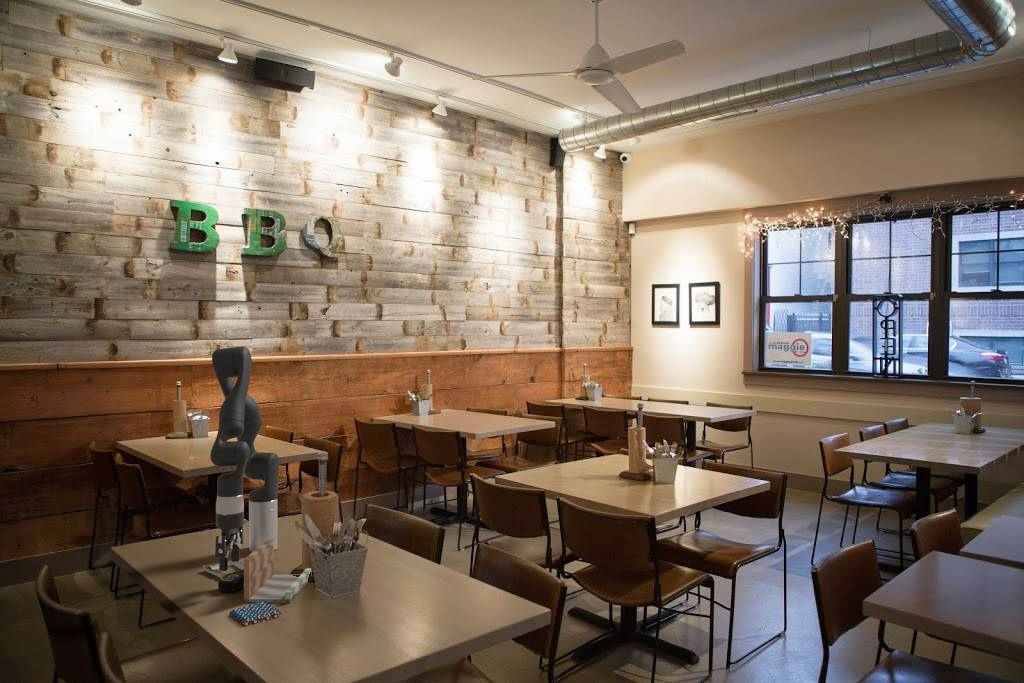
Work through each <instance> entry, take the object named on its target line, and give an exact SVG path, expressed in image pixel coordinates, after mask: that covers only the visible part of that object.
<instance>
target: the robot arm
mask: <svg viewBox="0 0 1024 683" xmlns="http://www.w3.org/2000/svg"><path fill="white" fill-rule="evenodd" d="M252 360H253V359H252V354H251V352H250V349H249V348H248V347H246V346H244V345H243V346H232V347H224V348H218V349H216V350H214V351H213V352H212V354H211V363H212V368H213V370H214V373H215V376H216V379H217V381H218V384H219V387H220V389H221V391H222V393H223V397H224V401H223V402H222V404H221V406H220V408H219V416H218V431H217V435H216V437H215V440H214V443H213V445H212V448H211V450H210V455H209V456H210V461H211V463H212V464H213V465H214V466H216V467H233V466H236V468H235V469H234V470H233V471H230V472H227V473H223V474H221V475H219V476H218V477H217V480H216V481H217V482H216V488H217V489H216V491H217V492H216V493H217V494H216V502H215V527H216V528H217V529H220V530H221V533H220V535H216V536H215V548H214V549H215V551H214V553H215V554H214V556H215V558H218V559H219V561H218V564H219V569H218V571H220V572H227V571H228V570H229V566H228V561H229V554H230V553H231V556H230V557H231V558H230V559H231V561H232V562H238V561H239V562H240V558H241V557H240V556H241V554H240V552H241V551H240V550H241V547H242V545H243V544H244V525H245V524H244V523H245V509H244V508H245V500H244V476H246V478H247V479H249V480H254V481H255V480H259V481H260V480H262V481H264V482H263V486H261V487H258V488H254V489H253V490H250V491H249V494H248V551H249V552H250V553H252V552H253V551H254V550H256V549H257V548H258V547H259V546H260V545H262V544H263V543H264V542H265V541H266V540H268V539H274V551H276V550H277V549H278V494H279V493H278V492H279V480H280V477H279V476H280V459H279V458H280V457H279V456H278V455H279V454H277V453H275V452H264V451H263V452H260V451H259V452H257V451H256V449H255V440H256V438H257V436H258V434H259V433H260V430H261V428H262V426H263V418H262V415H261V412H260V407H259V404H258V403H257V401H255V399H254V398H253V397H252V396H251V395H249V394H248V390H249V386H250V382H251V381H250V380H251V376H252V367H253V361H252ZM234 377H235V378H237V379H236V382H235V380H234V379H233V378H234ZM231 439H236V441H234V440H233V441H230V440H231ZM230 551H231V552H230Z"/></svg>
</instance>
